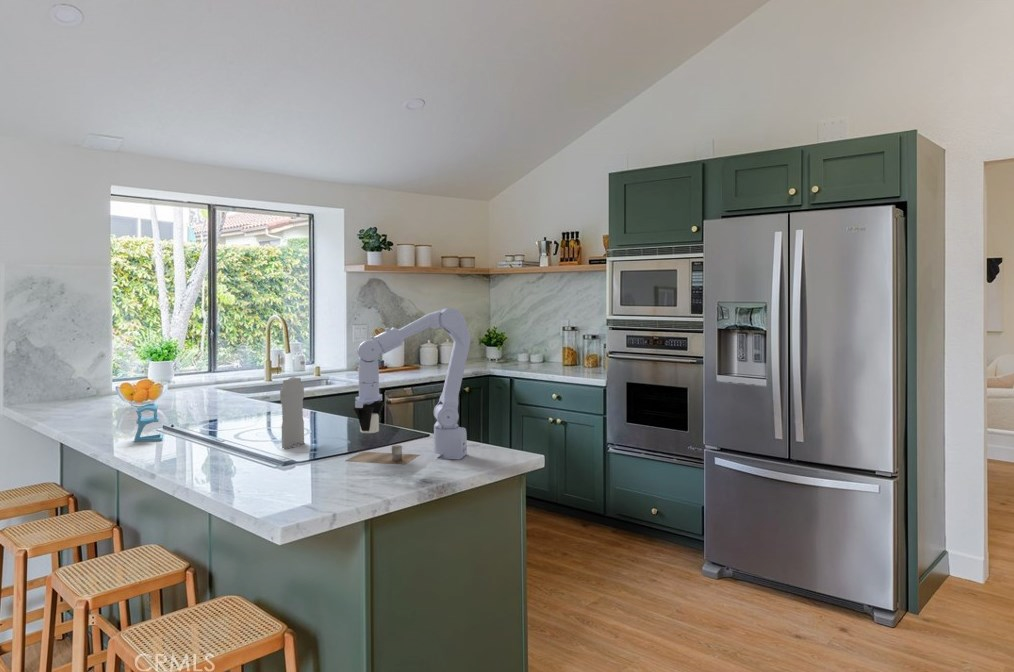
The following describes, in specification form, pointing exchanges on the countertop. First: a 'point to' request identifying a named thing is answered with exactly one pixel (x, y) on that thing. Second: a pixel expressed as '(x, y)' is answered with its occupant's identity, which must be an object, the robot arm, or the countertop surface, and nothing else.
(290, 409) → the tall pale column
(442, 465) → the countertop surface
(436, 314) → the robot arm
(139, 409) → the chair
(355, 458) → the post board
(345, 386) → the countertop surface
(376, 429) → the cap
